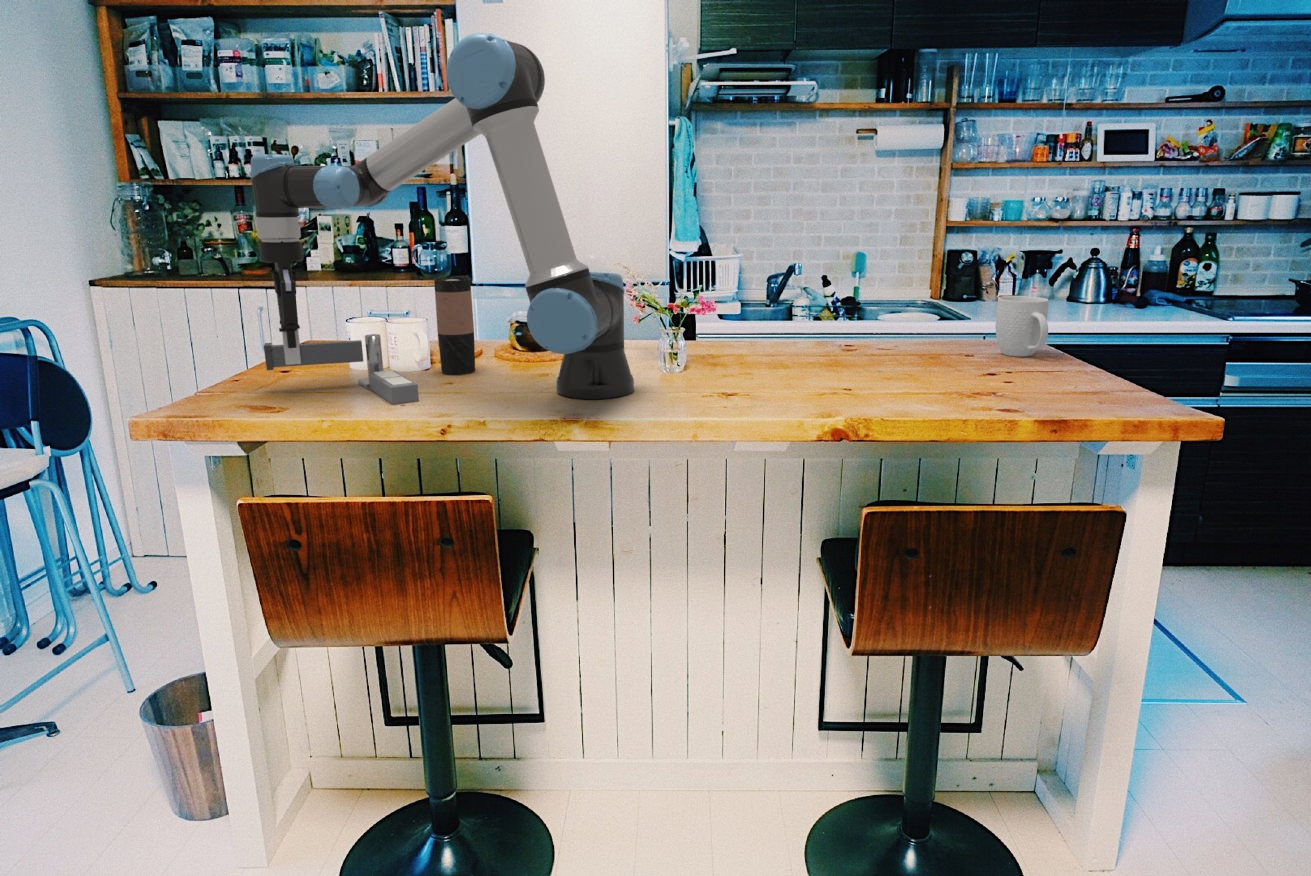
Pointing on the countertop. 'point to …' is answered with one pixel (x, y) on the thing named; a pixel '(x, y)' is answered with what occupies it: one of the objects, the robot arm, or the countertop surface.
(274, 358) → the bar
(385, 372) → the label block
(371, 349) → the post
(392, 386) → the label block
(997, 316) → the mug
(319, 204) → the robot arm
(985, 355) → the countertop surface
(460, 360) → the travel mug
